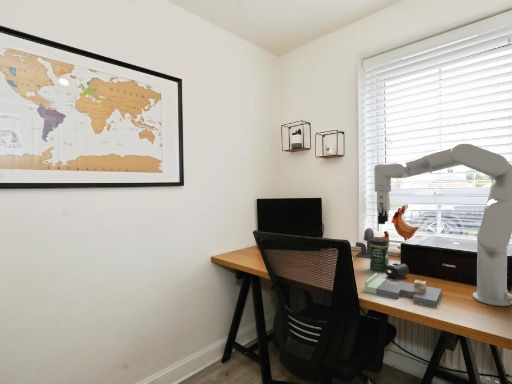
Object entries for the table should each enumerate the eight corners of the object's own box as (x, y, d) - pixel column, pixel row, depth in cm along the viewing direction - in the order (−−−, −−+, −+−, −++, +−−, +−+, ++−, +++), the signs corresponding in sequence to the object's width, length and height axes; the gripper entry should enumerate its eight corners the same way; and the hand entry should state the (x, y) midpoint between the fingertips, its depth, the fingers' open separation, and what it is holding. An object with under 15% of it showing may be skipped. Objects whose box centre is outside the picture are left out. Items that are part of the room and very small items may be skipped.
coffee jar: (367, 270, 163) (367, 237, 162) (373, 267, 168) (373, 235, 168) (385, 273, 156) (385, 240, 155) (390, 270, 161) (390, 237, 161)
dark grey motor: (398, 281, 144) (398, 268, 144) (385, 277, 150) (385, 265, 150) (409, 277, 149) (409, 264, 149) (396, 274, 155) (396, 261, 155)
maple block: (426, 290, 125) (426, 281, 125) (424, 293, 122) (424, 284, 122) (415, 288, 127) (415, 279, 127) (413, 291, 124) (413, 282, 124)
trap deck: (441, 294, 126) (441, 284, 126) (436, 307, 114) (436, 296, 114) (375, 281, 144) (375, 272, 144) (364, 291, 132) (364, 281, 132)
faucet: (352, 259, 186) (351, 228, 186) (357, 254, 200) (357, 225, 199) (382, 263, 177) (382, 230, 176) (385, 257, 190) (385, 227, 189)
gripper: (388, 189, 135) (388, 225, 135) (393, 188, 149) (393, 221, 150) (371, 189, 139) (371, 224, 139) (377, 188, 153) (377, 220, 154)
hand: (383, 222), depth 144 cm, fingers open, 9 cm apart
